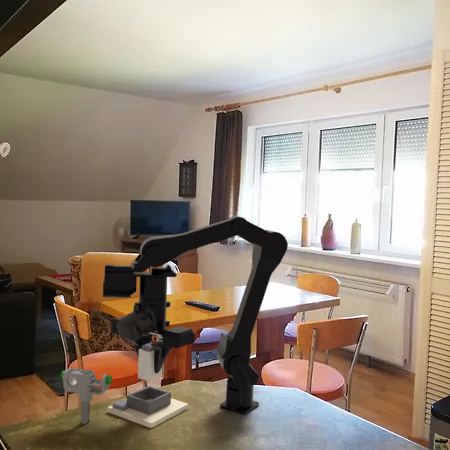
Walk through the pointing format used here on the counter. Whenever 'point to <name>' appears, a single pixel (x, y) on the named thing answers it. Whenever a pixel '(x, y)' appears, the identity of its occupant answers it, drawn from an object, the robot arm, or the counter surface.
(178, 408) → the board
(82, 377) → the mechanical component
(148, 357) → the plug
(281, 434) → the counter surface
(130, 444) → the counter surface
